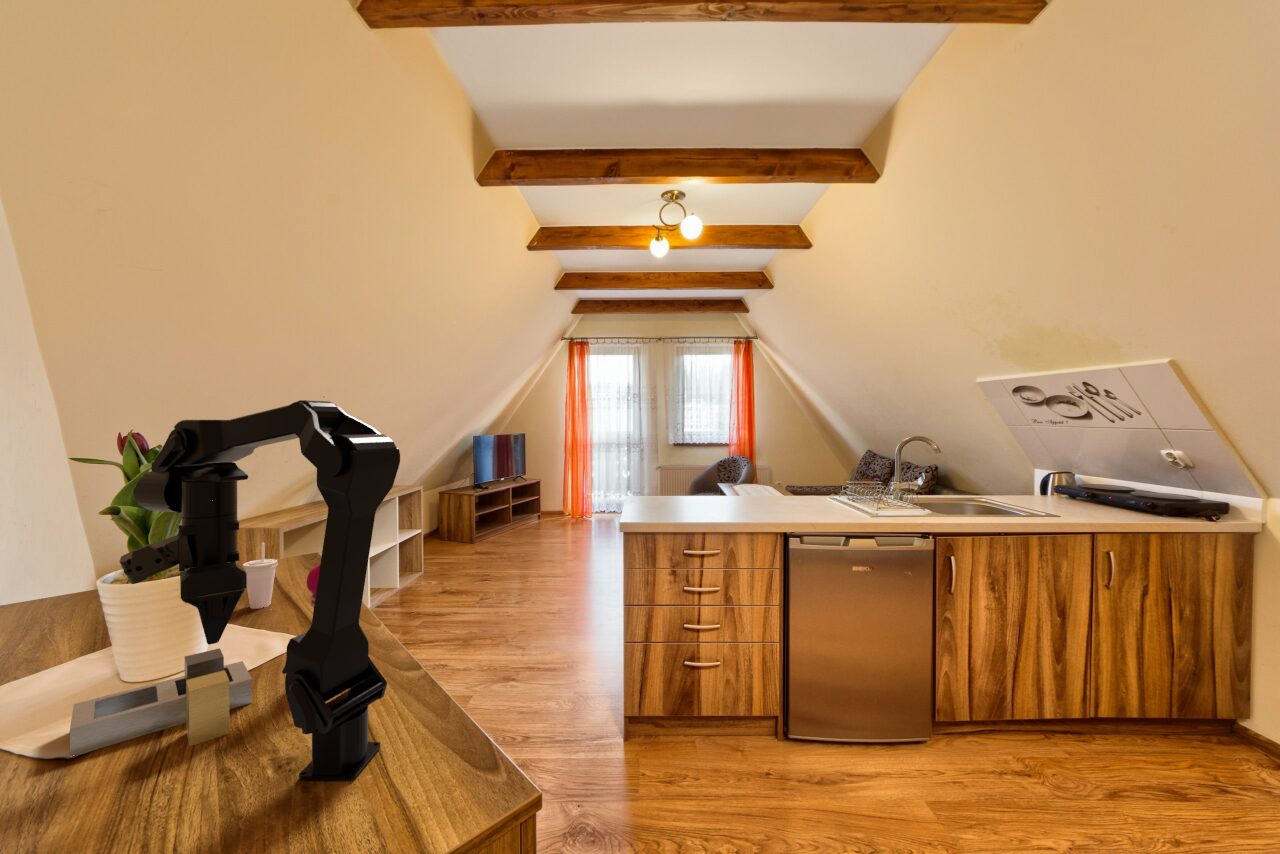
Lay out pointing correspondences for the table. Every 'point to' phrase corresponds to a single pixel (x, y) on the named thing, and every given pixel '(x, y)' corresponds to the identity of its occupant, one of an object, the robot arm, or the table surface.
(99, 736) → the grey slotted block holder
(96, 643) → the table surface
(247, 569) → the smoothie
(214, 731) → the wooden toy block
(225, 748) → the table surface
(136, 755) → the table surface
